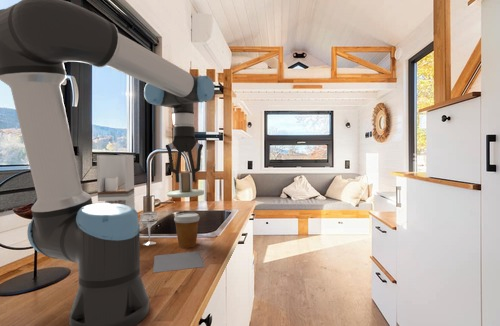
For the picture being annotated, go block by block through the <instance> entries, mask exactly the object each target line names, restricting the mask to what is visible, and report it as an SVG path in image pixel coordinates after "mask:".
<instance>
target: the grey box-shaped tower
mask: <svg viewBox="0 0 500 326" xmlns="http://www.w3.org/2000/svg"><path fill="white" fill-rule="evenodd" d="M134 161H135V159H134V154H117V155H116V154H113V155H111V154H110V155H109V154H96V178H97V185H96V186H97V201H98V202H104V203H110V204H123V205H127V206H130V207H132V208H134V209H135V205H136V204H135V170H134V169H135V167H134V166H135V163H134ZM135 210H136V209H135Z"/></svg>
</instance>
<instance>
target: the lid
mask: <svg viewBox="0 0 500 326" xmlns="http://www.w3.org/2000/svg"><path fill="white" fill-rule="evenodd" d="M180 173H181V185H182V192H179V189H178V190H177V189H176V190H171V191H168V192H167V193H166V194H167V197H169V198H193V197H194V198H195V197H200V196H203V195H205V190H203V189H197V188H195V189H193V191H190V173H191V171H189V172H187V171H185V172H180Z"/></svg>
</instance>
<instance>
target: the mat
mask: <svg viewBox="0 0 500 326" xmlns="http://www.w3.org/2000/svg"><path fill="white" fill-rule="evenodd" d="M205 265H206V264H205V262H204V259H203V257H202V254H201V252H200V250H196V251H187V252H179V253H178V252H177V253H176V252H175V253H169V254H168V253H167V254H158V255H154V257H153V266H152V267H153V268H152V274H157V273H165V272H171V271H179V270H181V271H182V270H188V269H195V268H196V269H197V268H198V269H199V268H206V266H205Z"/></svg>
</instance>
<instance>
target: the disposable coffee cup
mask: <svg viewBox="0 0 500 326" xmlns="http://www.w3.org/2000/svg"><path fill="white" fill-rule="evenodd" d="M200 219H201V218H200V215H199V214H198V213H196V212H182V213H177V214H175V216H174V219H173V220H174V223H175V227H176V228H175V229H176V235H177V244H178V247H179V248H183V249H188V248H193V247H195V246H196V245H197V238H198V229H199V221H200Z"/></svg>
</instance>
